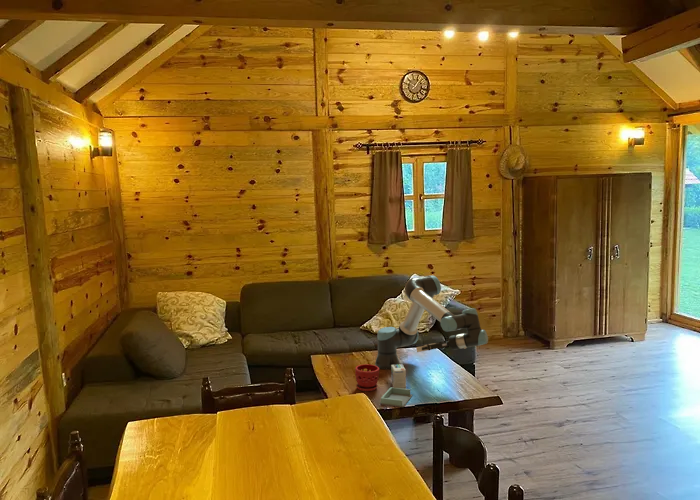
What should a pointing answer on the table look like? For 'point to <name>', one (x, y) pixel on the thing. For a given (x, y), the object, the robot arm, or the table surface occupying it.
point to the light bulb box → (398, 376)
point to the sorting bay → (396, 397)
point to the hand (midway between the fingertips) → (421, 348)
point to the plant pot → (367, 377)
